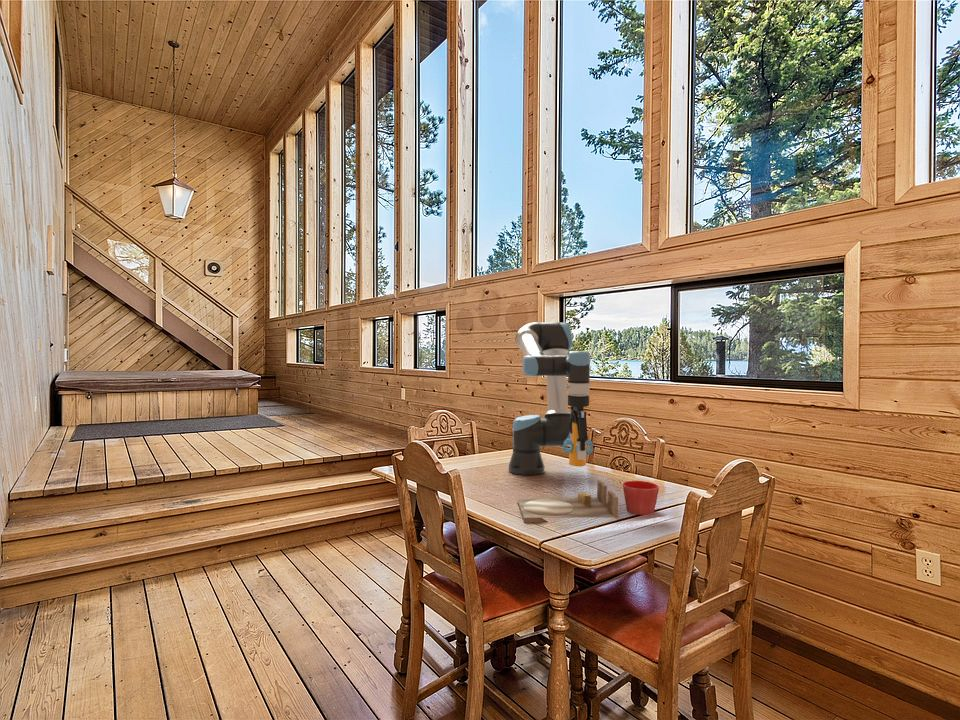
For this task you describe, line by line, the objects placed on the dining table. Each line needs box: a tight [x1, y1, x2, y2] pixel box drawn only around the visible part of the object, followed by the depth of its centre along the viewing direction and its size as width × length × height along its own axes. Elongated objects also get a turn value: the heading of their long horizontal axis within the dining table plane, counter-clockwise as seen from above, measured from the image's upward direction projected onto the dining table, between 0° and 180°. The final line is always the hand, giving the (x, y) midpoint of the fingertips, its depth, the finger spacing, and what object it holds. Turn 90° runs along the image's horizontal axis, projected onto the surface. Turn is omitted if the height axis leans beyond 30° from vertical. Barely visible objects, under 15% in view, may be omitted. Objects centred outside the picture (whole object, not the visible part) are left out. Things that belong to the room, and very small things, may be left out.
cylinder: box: [562, 422, 594, 467], centre depth 188 cm, size 12×10×15 cm
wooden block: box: [577, 491, 592, 505], centre depth 174 cm, size 4×2×3 cm, turn 22°
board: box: [516, 479, 620, 524], centre depth 170 cm, size 20×29×8 cm
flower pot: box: [622, 480, 660, 519], centre depth 167 cm, size 11×11×10 cm
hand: (577, 455), depth 188 cm, fingers closed on cylinder, 12 cm apart
